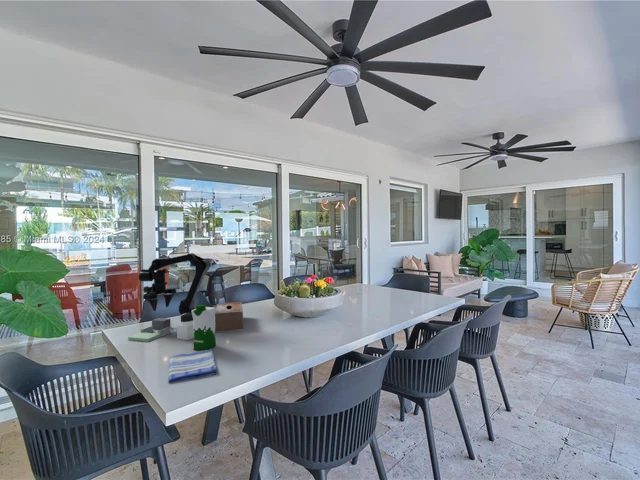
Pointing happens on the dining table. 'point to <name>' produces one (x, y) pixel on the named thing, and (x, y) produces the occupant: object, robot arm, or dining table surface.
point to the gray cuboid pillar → (161, 323)
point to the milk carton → (204, 327)
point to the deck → (148, 334)
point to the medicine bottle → (185, 327)
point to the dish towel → (191, 366)
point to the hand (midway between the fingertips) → (160, 308)
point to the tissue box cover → (228, 316)
